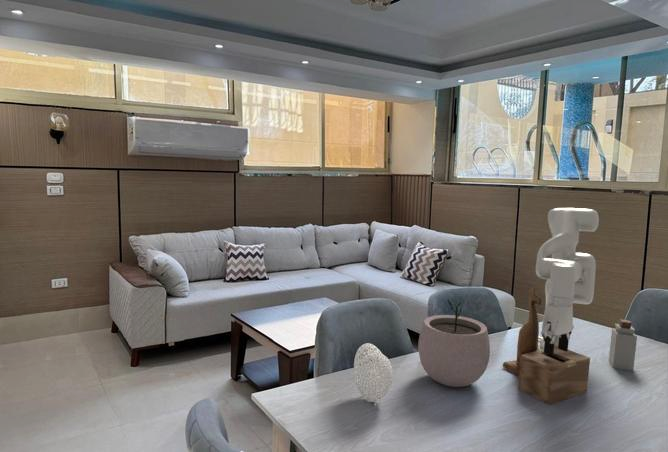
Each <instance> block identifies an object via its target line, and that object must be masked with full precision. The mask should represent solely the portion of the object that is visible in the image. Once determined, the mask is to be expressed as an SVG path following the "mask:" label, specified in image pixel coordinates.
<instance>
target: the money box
mask: <svg viewBox="0 0 668 452" xmlns="http://www.w3.org/2000/svg"><path fill="white" fill-rule="evenodd" d="M590 363H591V357H589V356H586V355H584V354H580V353H578V352H576V351H572V350H570V349H569V350H568V351H563V350H561V349H558V346H554V354H553V355H549V354H547V353H544V349H542V350H537V351H535V352H531V353H527V354H523V355H520V367H519V376H518V381H517V389H518V390H519V391H521V392H523V393H525V394H527V395H529V396H531V397H533V398H535V399H537V400H538V401H541V402H543V403H545V404H546V405H548V406H551V405H554V404H556V403H560V402H562V401H565V400H567V399H571V398H573V397H576V396H579V395H582V394H584V393H587V392H588V383H589V375H590V373H589V372H590Z"/></svg>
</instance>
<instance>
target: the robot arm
mask: <svg viewBox="0 0 668 452" xmlns="http://www.w3.org/2000/svg"><path fill="white" fill-rule="evenodd" d="M599 218H600V217H599V213H598V212H597V210H595V209H592V208H591V209H590V208H578V207H577V208H575V207H557V208H556V207H555V208H553V209H550V210H549V211H548V213H547V223H548V227H549V230H550V233H551V236H552V237H551V238H549V239H547V240H546V241H545V242H544V243H542V245H541V246H540V248H539V249H538V252H537V255H536V261H535V275H536V276H537V277H538V278H540V279H543V280H546V282H545V284H544V285H545V286H544V290H545V292H544V293H545V308H544V312H543V316H542V317H543V318H542V325H541V326H542V327H541V332H540V335H541V336H540V335H539V337H538V350H542V349H544V353H547V354H549V355H553V354H554V346H558V349H561V350H563V351H568V350H570V349H569V343H570V339H571V337H570V336H571V335H572V332H573V330H574V328H575V326H574V324H573V321H574V319H573V318H574V309H573V307H574V304H579V305H590V304H592V302H593V300H594V295H595V284H596V283H595V282H596V269H597V268H596V267H597V266H596V265H597V264H596V263H597V262H596V259H595V257H594V255H593V254H590V253H584V252H576V251H577V249H576V248H577V246H578V244H579V241H580V240H579V239H580V232H588V233H589V232H590V233H591V232H592V233H594V232H596V230H598V227H599V222H600V219H599ZM550 255H551V257H548V256H550ZM538 350H537V351H538Z"/></svg>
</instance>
